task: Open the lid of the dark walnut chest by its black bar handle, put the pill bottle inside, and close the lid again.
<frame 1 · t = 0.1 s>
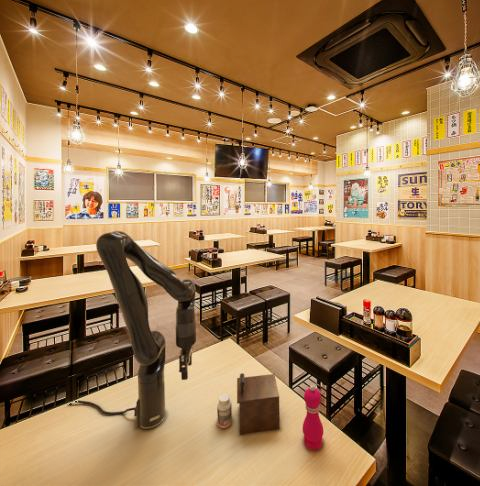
hand: (186, 371, 101), 17 cm above the table, tool pointing down, fingers open, 8 cm apart
lid: (257, 382, 99), point 14 cm above the table, hinge at 0.0°
chest: (258, 417, 100), on the table
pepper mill: (313, 442, 89), on the table
pill bottle: (224, 422, 98), on the table
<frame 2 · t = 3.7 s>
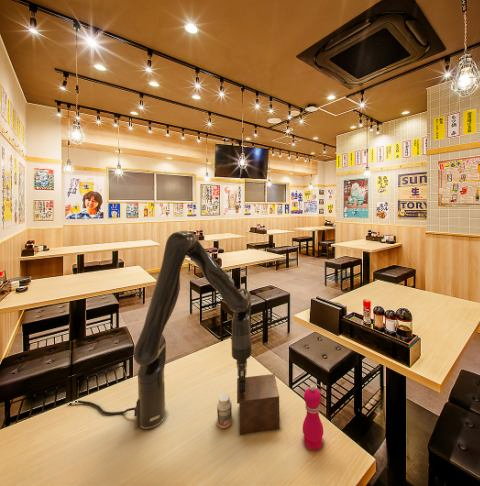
hand: (242, 386, 98), 13 cm above the table, tool pointing down, fingers closed on lid, 5 cm apart
lid: (257, 382, 99), point 14 cm above the table, hinge at 0.0°, touching gripper
everything else where it was.
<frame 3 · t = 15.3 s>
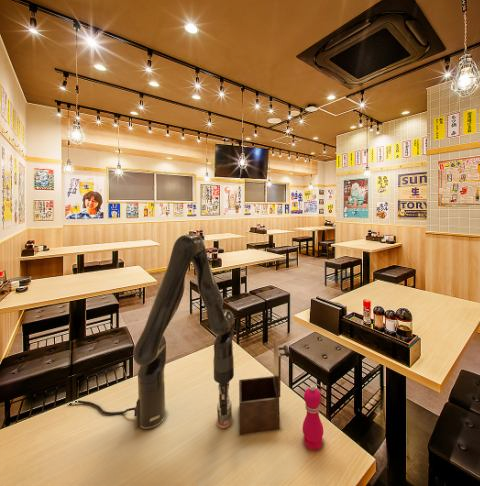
hand: (224, 408, 98), 5 cm above the table, tool pointing down, fingers closed on pill bottle, 5 cm apart
lid: (282, 365, 101), point 20 cm above the table, hinge at 91.3°
pill bottle: (224, 422, 98), on the table, touching gripper
everything else where it was.
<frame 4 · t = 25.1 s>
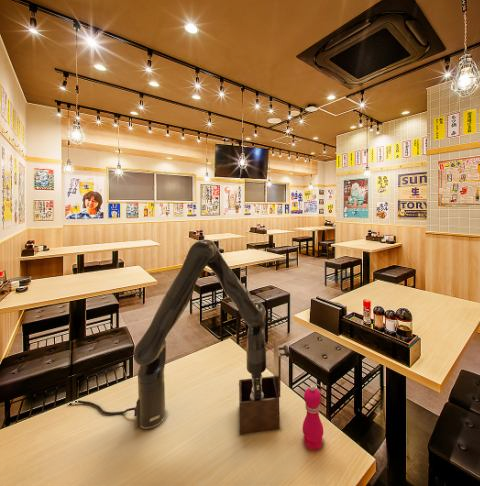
hand: (256, 399, 99), 7 cm above the table, tool pointing down, fingers closed on pill bottle, 5 cm apart
pill bottle: (257, 413, 100), point 2 cm above the table, touching gripper
everything else where it was.
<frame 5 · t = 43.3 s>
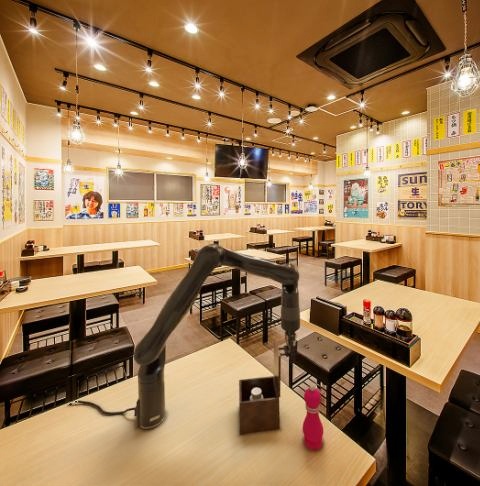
hand: (290, 357, 101), 22 cm above the table, tool pointing down, fingers closed on lid, 5 cm apart
lid: (282, 365, 101), point 20 cm above the table, hinge at 91.3°, touching gripper
pill bottle: (256, 416, 100), point 1 cm above the table, touching chest
everything else where it was.
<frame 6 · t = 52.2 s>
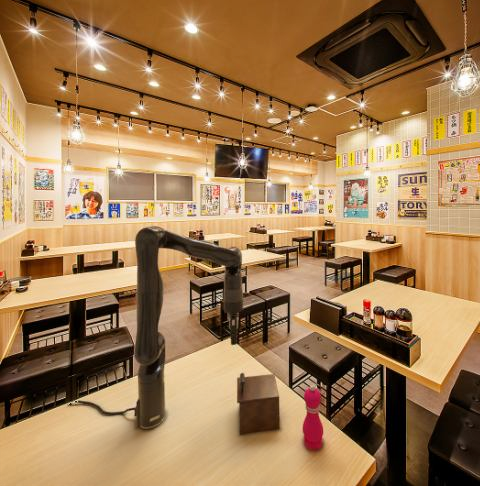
hand: (234, 338, 102), 30 cm above the table, tool pointing down, fingers open, 8 cm apart
lid: (257, 382, 99), point 14 cm above the table, hinge at 0.5°
everything else where it was.
at the end: lid reached +91° during the clip, +0° at the end; pill bottle inside the target area in the chest (0.7 cm from its centre), point 0.6 cm above the chest's base; lid at +0° (first picture: +0°) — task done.
